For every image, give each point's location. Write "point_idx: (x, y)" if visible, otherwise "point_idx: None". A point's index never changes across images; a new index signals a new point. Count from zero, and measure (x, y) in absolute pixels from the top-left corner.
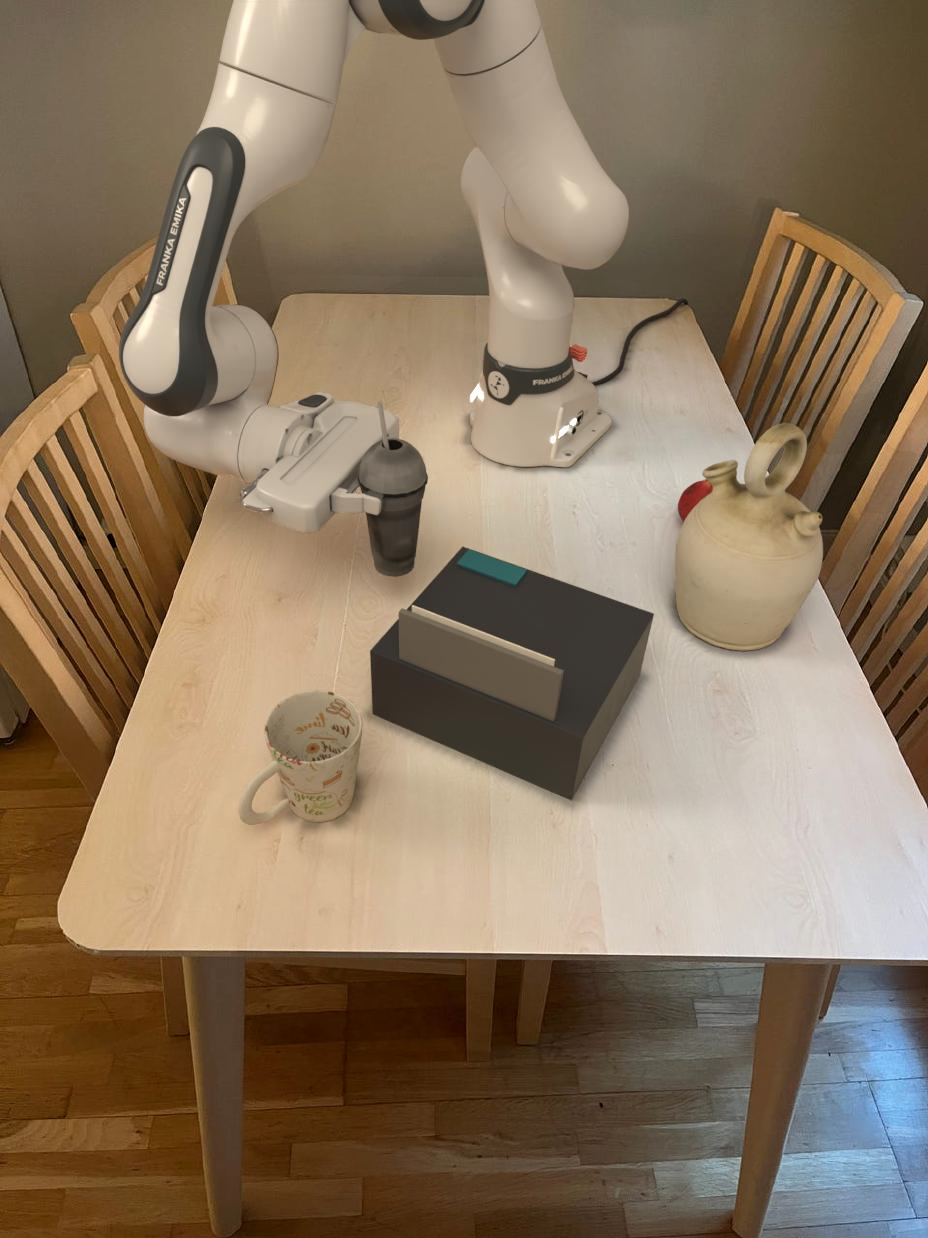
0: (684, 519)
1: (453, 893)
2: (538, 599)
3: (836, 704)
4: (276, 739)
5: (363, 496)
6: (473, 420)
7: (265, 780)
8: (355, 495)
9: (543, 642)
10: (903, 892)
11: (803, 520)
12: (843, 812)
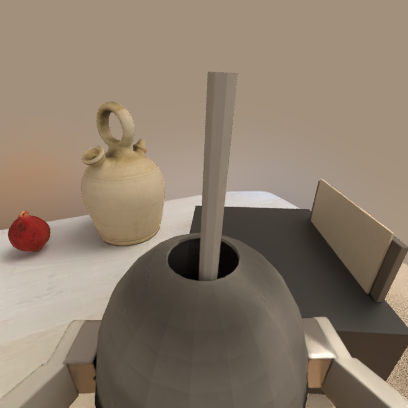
0: (39, 244)
1: (399, 276)
2: None
3: (178, 203)
4: None
5: (348, 356)
6: None
7: None
8: (372, 381)
9: (260, 232)
10: (249, 192)
11: (142, 144)
12: (230, 200)
